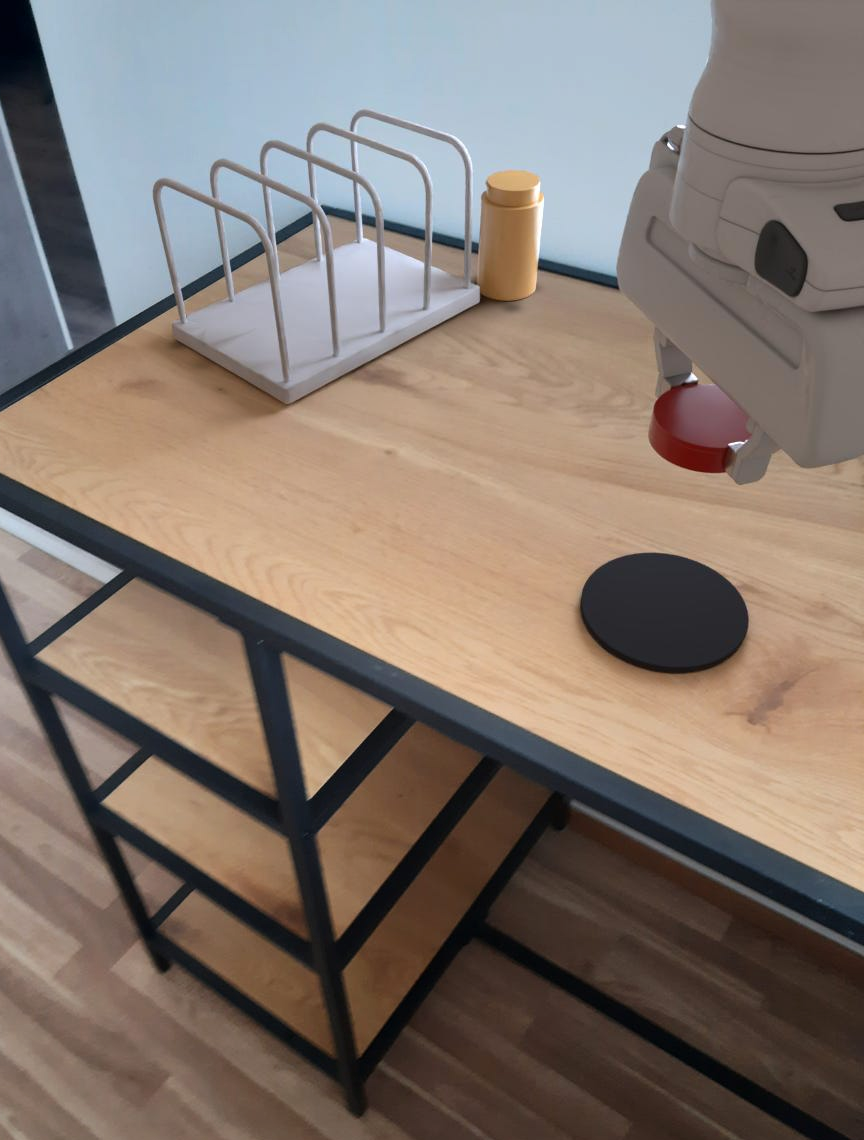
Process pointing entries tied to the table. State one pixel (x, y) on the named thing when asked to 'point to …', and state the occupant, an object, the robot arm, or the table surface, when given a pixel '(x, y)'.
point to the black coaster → (664, 612)
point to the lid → (696, 427)
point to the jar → (509, 235)
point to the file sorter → (322, 280)
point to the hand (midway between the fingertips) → (705, 438)
